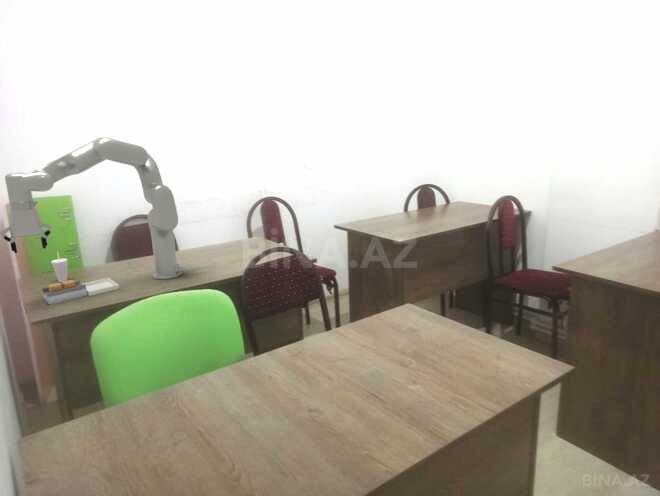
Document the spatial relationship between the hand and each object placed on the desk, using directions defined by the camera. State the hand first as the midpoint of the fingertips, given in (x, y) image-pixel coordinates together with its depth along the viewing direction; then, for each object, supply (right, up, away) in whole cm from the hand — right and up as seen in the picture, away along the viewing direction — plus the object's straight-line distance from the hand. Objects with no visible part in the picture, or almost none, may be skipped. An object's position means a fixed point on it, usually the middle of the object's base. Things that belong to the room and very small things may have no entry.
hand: (30, 250), depth 185 cm
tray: (+18, -17, +19) cm, 31 cm away
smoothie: (-5, -14, +32) cm, 35 cm away
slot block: (+8, -19, +11) cm, 23 cm away
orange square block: (+9, -16, +11) cm, 21 cm away
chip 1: (+5, -17, +8) cm, 19 cm away
